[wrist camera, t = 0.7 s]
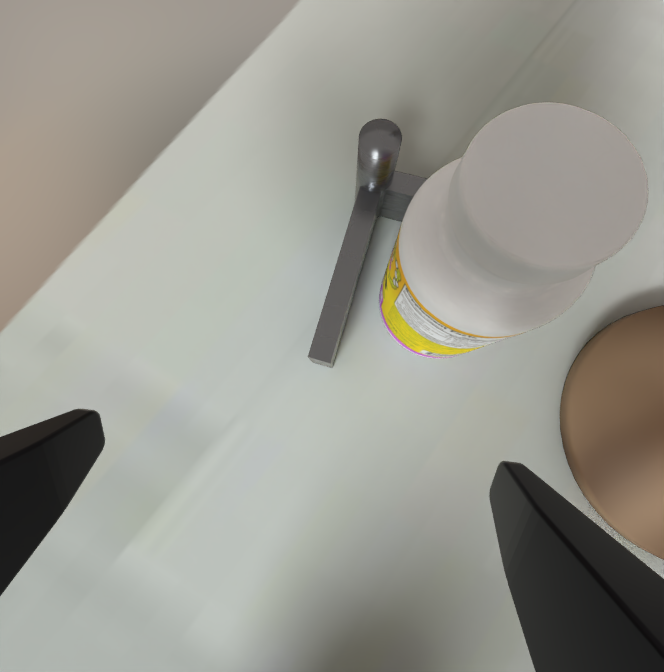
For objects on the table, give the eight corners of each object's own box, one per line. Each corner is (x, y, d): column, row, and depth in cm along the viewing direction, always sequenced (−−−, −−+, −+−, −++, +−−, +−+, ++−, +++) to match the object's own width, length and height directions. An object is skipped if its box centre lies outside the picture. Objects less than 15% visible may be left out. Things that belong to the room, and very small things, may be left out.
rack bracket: (513, 421, 21) (582, 431, 15) (306, 360, 21) (292, 346, 15) (552, 235, 22) (628, 177, 16) (359, 186, 23) (365, 114, 17)
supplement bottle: (427, 231, 23) (536, 21, 10) (511, 302, 22) (749, 171, 9) (353, 308, 22) (369, 186, 9) (437, 384, 21) (581, 366, 8)
